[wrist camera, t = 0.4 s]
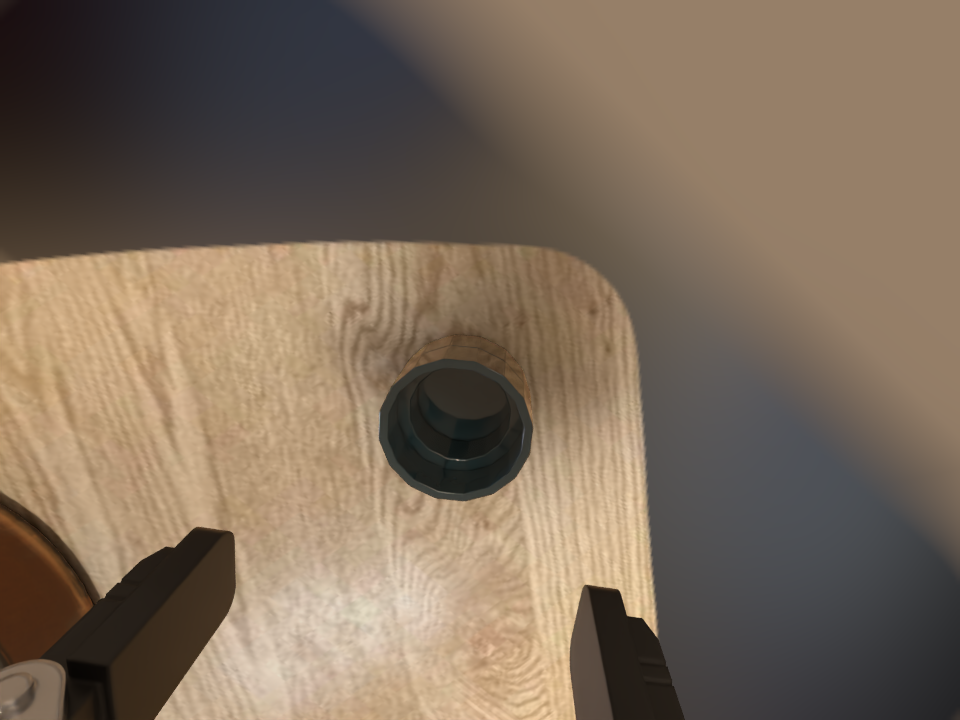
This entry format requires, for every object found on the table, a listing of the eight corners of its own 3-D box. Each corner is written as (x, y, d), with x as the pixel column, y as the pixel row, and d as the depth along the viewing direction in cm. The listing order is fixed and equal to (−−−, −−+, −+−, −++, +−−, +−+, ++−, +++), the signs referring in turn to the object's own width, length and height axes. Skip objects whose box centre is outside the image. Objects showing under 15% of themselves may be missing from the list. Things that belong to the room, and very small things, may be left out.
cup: (402, 327, 25) (380, 352, 21) (535, 339, 25) (540, 367, 21) (398, 447, 27) (377, 492, 23) (522, 459, 27) (524, 507, 23)
